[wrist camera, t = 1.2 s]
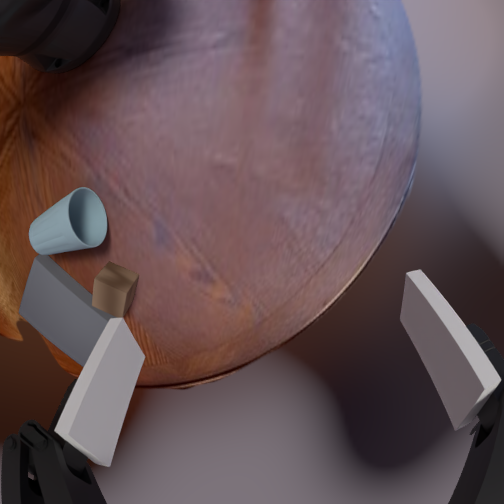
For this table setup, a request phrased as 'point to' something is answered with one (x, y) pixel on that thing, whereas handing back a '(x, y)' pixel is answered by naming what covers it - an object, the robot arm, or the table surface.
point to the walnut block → (114, 289)
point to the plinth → (62, 310)
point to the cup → (70, 224)
